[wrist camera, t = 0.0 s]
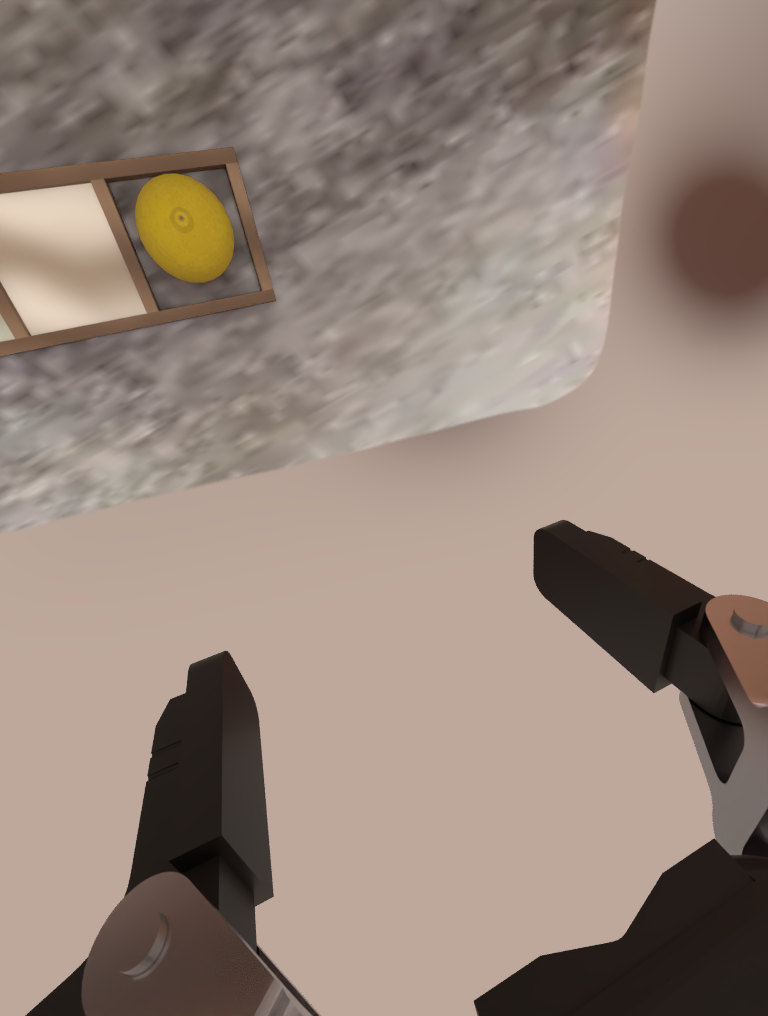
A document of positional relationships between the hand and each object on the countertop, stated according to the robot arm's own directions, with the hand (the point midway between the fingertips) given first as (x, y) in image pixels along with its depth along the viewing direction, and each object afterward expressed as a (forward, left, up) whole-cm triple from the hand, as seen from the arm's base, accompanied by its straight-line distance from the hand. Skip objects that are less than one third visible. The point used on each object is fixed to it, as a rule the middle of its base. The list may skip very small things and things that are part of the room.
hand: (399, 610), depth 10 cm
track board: (-12, -11, -29) cm, 33 cm away
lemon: (-12, -2, -30) cm, 32 cm away
